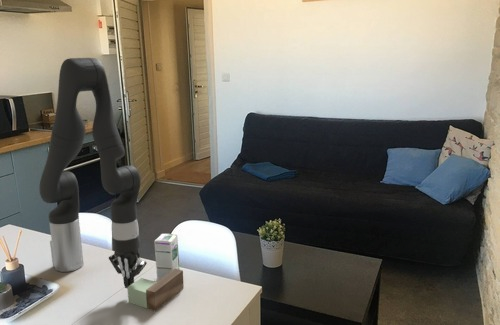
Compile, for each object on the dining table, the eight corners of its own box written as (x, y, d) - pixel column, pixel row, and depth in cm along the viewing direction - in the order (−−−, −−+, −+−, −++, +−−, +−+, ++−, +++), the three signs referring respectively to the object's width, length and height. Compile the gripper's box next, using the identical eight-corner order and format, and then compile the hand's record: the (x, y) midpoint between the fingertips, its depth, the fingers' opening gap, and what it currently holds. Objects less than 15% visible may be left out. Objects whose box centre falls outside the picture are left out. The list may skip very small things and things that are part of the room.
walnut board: (147, 308, 123) (146, 289, 122) (175, 285, 135) (174, 268, 134) (155, 311, 122) (154, 292, 120) (183, 287, 134) (182, 270, 133)
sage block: (128, 302, 126) (127, 286, 125) (142, 292, 132) (141, 277, 130) (146, 308, 123) (145, 292, 122) (160, 298, 128) (159, 283, 127)
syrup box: (173, 283, 137) (171, 241, 133) (156, 281, 138) (154, 239, 134) (180, 274, 142) (178, 234, 139) (163, 273, 143) (161, 232, 140)
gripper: (98, 234, 124) (103, 288, 128) (134, 243, 118) (138, 298, 123) (117, 225, 131) (121, 276, 135) (151, 233, 125) (154, 286, 129)
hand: (129, 287), depth 129 cm, fingers closed
